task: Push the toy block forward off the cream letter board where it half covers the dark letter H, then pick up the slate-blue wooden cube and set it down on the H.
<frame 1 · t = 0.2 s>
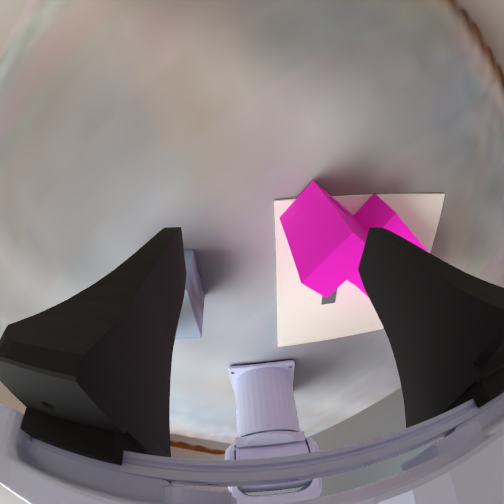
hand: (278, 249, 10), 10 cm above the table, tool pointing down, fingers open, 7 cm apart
slate-blue cube: (171, 275, 23), on the table
letter board: (359, 278, 25), on the table
toy block: (367, 237, 22), resting on letter board
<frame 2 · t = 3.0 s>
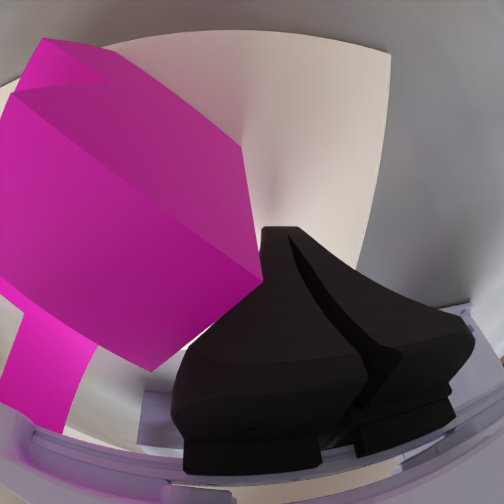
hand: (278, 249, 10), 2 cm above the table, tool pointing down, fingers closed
slate-blue cube: (179, 405, 21), on the table
letter board: (173, 229, 11), on the table
toy block: (83, 234, 11), resting on letter board, touching gripper
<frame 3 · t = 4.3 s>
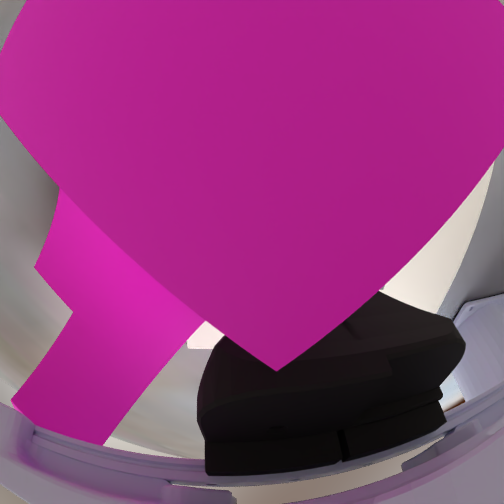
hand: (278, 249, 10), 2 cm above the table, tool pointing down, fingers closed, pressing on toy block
letter board: (358, 227, 12), on the table
toy block: (164, 232, 10), point 1 cm above the table, touching gripper, letter board
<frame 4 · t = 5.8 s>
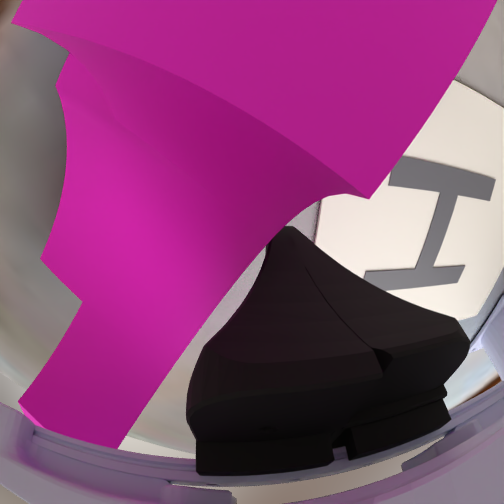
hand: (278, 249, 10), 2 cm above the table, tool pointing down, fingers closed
letter board: (451, 231, 12), on the table
toy block: (175, 214, 10), point 1 cm above the table, touching gripper
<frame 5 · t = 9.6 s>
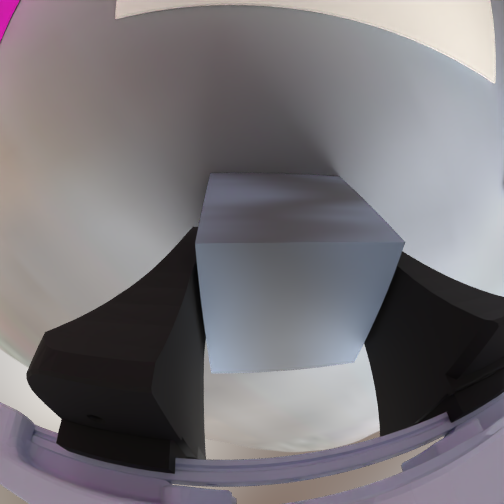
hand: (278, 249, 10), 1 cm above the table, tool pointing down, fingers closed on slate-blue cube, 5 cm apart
slate-blue cube: (273, 231, 11), on the table, touching gripper
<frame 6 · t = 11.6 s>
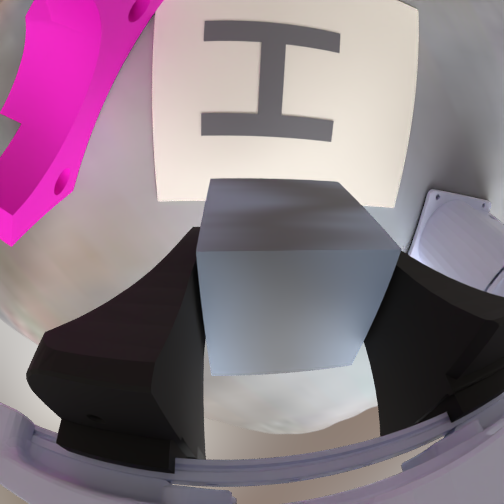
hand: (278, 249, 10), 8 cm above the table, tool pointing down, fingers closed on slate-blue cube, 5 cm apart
slate-blue cube: (272, 235, 12), point 7 cm above the table, touching gripper
letter board: (296, 80, 14), on the table
toy block: (75, 78, 12), on the table, touching letter board
when the fingers open (3 cm above the table, at t = 13.6 s): slate-blue cube drops 1 cm, resting on letter board.
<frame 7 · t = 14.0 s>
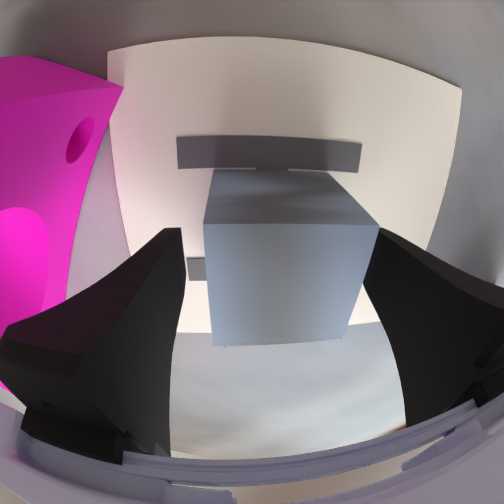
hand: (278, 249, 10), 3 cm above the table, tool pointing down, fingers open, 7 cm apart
slate-blue cube: (269, 221, 13), resting on letter board
letter board: (299, 213, 13), on the table
toy block: (35, 202, 11), on the table, touching letter board
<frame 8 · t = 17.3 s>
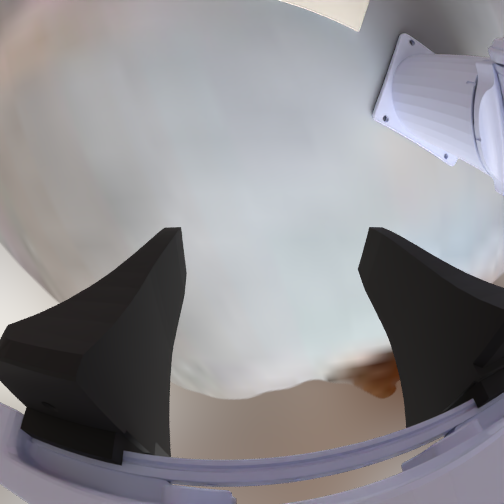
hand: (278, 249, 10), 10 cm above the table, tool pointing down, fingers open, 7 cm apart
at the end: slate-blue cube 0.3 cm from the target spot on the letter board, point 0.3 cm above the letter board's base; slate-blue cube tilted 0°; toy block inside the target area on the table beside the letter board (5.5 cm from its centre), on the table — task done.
